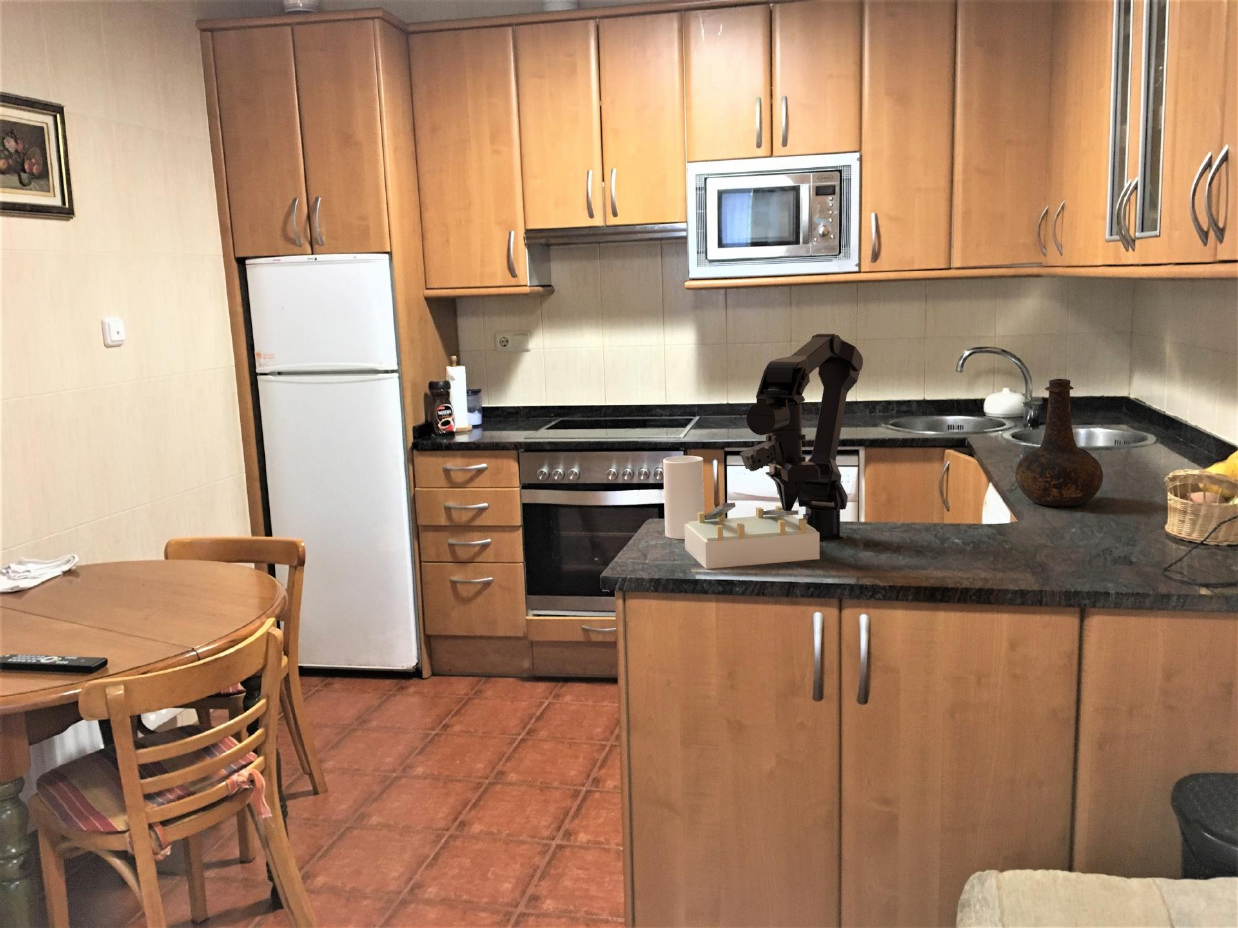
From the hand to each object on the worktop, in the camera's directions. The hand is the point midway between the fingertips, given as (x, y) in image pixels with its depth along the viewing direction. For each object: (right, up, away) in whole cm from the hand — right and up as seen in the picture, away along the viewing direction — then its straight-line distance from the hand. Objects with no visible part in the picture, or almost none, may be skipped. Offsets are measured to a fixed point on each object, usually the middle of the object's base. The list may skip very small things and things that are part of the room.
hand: (787, 510), depth 191 cm
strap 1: (-12, -1, +2) cm, 13 cm away
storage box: (-6, -8, +4) cm, 11 cm away
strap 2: (-1, -1, +4) cm, 4 cm away
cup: (-18, -6, +21) cm, 28 cm away
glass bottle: (+67, 0, +38) cm, 77 cm away
